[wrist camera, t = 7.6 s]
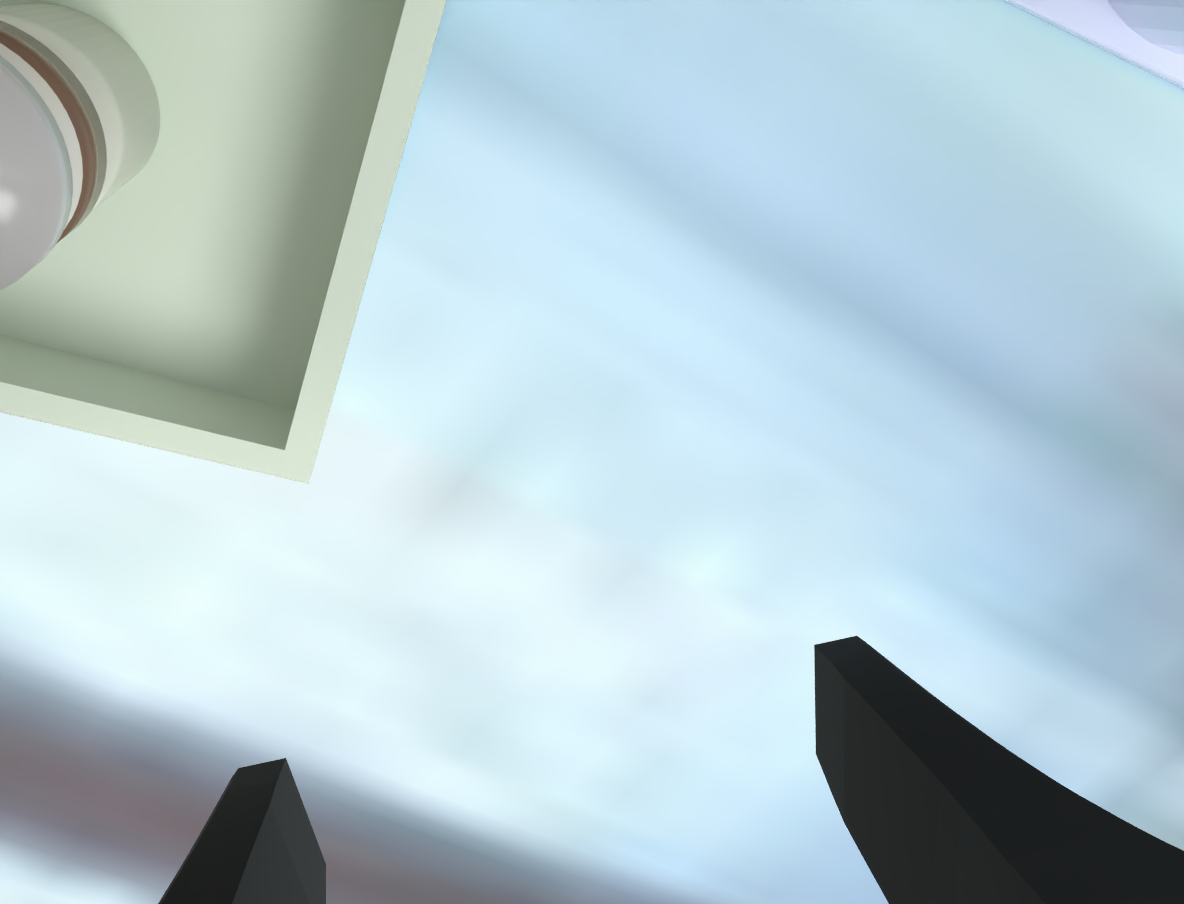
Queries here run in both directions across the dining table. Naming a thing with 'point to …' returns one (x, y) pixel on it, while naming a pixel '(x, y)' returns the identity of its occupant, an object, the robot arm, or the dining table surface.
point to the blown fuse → (65, 126)
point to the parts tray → (226, 231)
